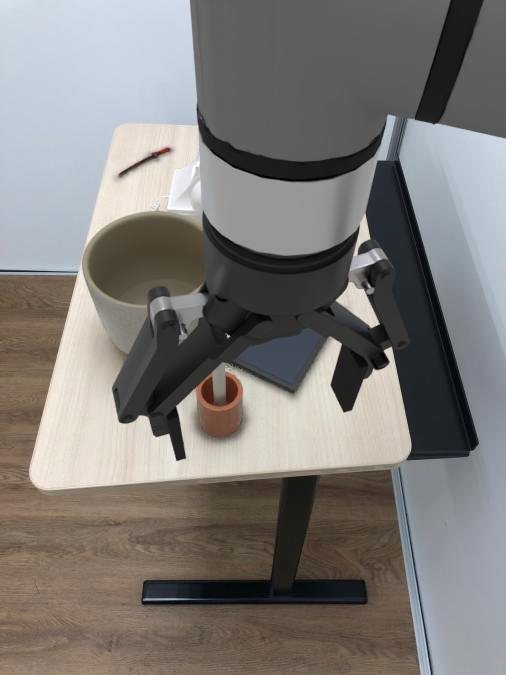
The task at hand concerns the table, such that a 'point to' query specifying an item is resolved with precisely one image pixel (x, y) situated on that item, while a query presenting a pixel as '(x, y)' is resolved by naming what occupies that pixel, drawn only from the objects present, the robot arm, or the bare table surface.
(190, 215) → the telephone
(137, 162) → the katana
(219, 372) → the stylus
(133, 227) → the planter
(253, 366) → the tablet
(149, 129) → the table surface
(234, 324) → the robot arm
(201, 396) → the cup
